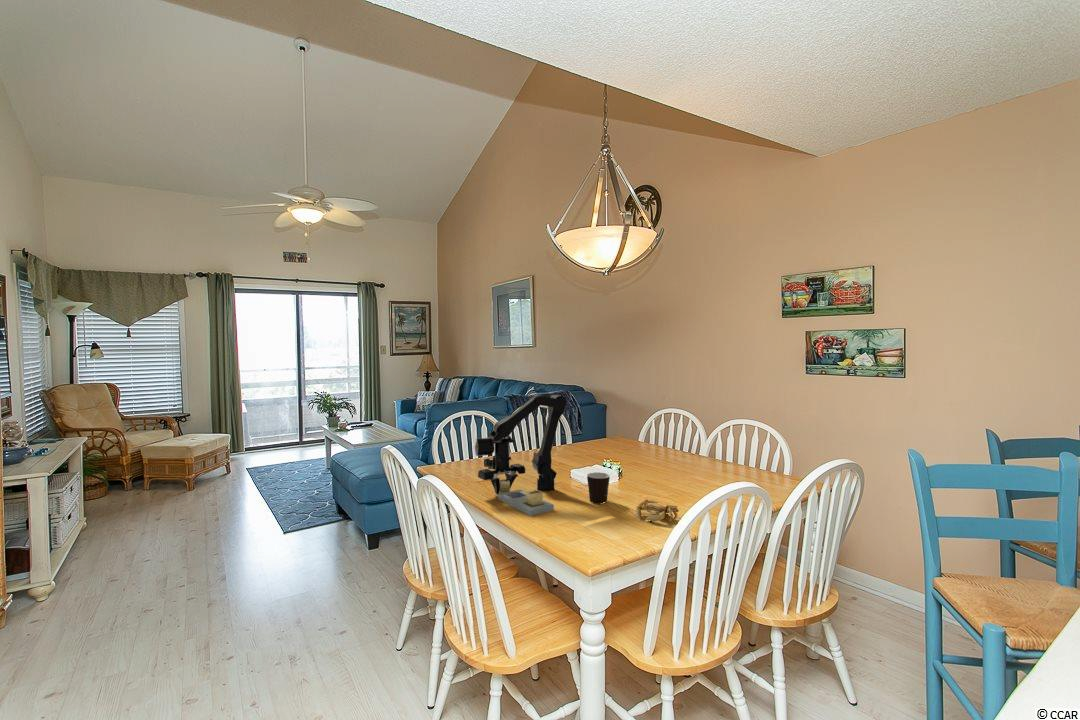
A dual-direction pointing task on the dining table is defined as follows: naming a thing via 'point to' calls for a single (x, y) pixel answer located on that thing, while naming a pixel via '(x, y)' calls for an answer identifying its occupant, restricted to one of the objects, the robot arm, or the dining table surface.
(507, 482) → the block
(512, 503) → the grey slotted plate
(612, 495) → the dining table surface
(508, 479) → the robot arm
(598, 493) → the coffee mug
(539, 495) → the block
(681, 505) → the dining table surface
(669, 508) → the crab model
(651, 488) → the dining table surface
